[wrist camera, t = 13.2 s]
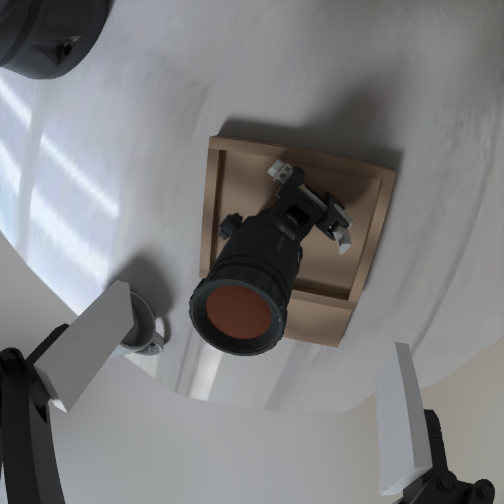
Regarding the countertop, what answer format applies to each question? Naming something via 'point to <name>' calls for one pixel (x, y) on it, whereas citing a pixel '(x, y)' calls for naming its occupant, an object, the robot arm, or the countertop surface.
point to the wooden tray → (316, 242)
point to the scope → (263, 266)
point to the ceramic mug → (140, 331)
